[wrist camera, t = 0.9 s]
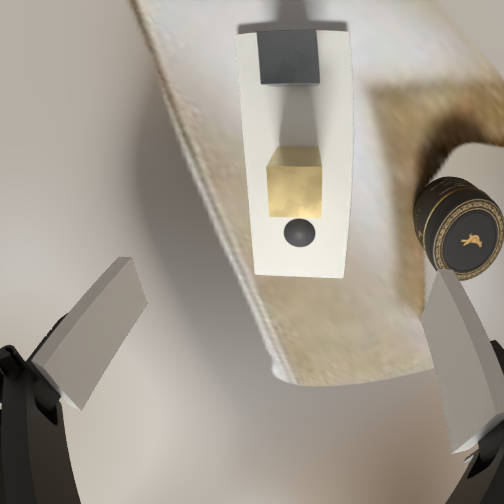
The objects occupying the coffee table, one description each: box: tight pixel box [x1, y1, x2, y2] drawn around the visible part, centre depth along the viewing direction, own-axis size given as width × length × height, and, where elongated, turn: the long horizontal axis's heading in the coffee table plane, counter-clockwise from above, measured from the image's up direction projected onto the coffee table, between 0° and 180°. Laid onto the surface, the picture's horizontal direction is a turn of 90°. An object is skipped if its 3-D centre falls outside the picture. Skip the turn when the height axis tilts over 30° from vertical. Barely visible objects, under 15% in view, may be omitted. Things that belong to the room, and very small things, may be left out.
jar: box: [414, 177, 504, 281], centre depth 25 cm, size 10×10×8 cm
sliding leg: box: [266, 146, 322, 218], centre depth 24 cm, size 4×4×8 cm
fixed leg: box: [256, 30, 320, 87], centre depth 19 cm, size 4×4×9 cm
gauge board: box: [235, 30, 353, 278], centre depth 29 cm, size 28×11×2 cm, turn 4°
